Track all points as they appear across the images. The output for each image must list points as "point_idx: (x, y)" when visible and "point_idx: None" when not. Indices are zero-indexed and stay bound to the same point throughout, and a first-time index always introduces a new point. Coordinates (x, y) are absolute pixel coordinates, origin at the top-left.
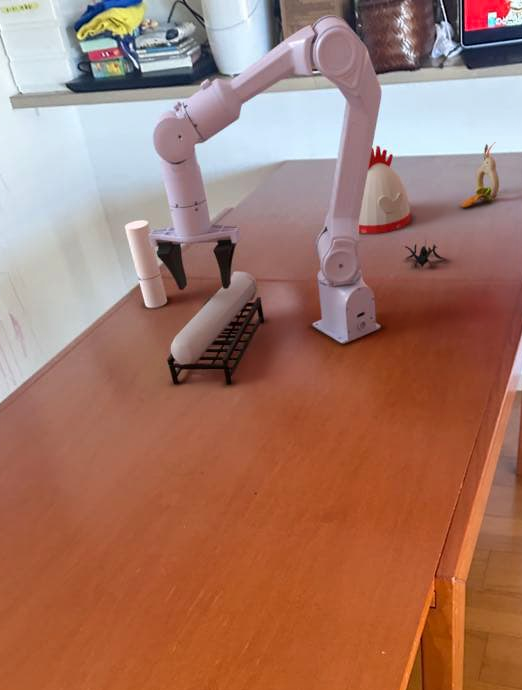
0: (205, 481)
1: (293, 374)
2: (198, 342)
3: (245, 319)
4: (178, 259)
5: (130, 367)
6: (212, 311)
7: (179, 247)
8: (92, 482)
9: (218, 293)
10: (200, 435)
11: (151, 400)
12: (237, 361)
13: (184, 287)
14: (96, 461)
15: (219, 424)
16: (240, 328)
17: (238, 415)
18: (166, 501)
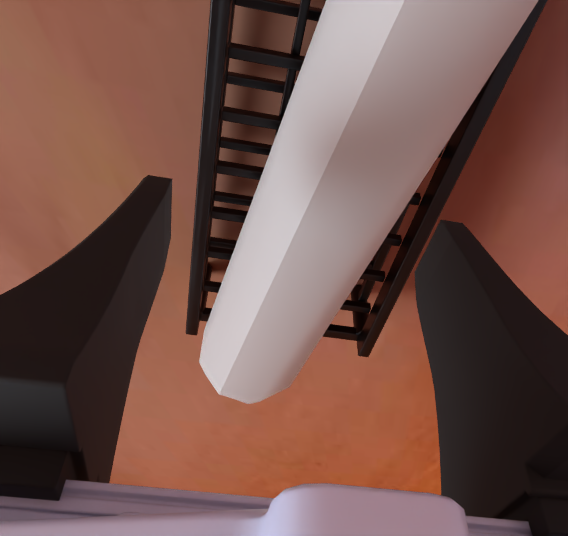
0: (325, 473)
1: (540, 277)
2: (294, 378)
3: (465, 141)
4: (120, 340)
5: (2, 166)
6: (336, 277)
7: (96, 357)
8: (148, 461)
9: (363, 122)
10: (304, 410)
11: (161, 318)
12: (390, 245)
13: (170, 218)
14: (130, 435)
15: (339, 394)
16: (432, 208)
17: (378, 379)
18: (274, 488)
